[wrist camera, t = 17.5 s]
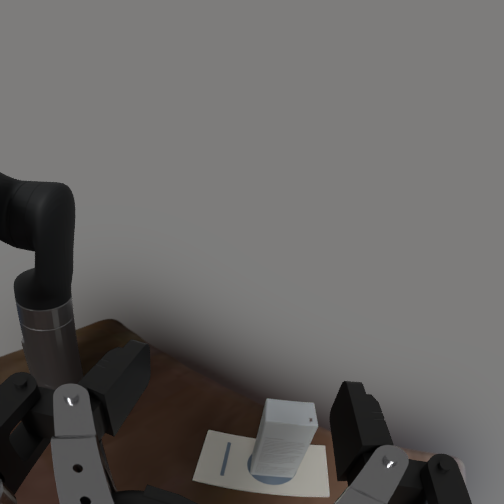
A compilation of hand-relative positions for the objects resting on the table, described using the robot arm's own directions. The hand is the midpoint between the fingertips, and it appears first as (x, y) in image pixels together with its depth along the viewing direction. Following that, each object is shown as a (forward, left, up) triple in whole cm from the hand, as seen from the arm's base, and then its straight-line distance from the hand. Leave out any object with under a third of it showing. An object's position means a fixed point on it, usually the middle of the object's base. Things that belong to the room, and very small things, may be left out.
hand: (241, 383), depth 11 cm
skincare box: (+6, +15, -28) cm, 32 cm away
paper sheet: (+5, +15, -28) cm, 32 cm away
